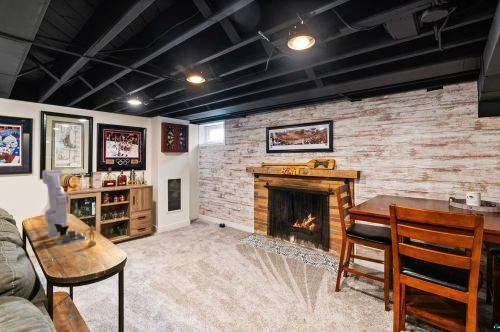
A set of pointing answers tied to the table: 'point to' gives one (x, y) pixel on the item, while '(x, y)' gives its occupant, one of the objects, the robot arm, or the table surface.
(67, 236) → the block
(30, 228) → the table surface
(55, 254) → the table surface
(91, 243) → the figurine
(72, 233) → the breaker
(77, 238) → the panel
